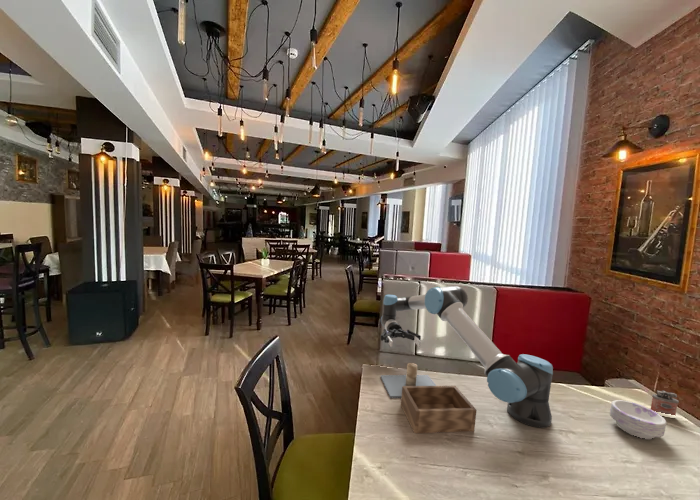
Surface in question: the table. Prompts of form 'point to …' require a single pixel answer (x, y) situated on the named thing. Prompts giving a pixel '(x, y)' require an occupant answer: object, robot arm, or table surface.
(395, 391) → the lid
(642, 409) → the paper bowls
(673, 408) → the lighter
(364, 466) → the table surface
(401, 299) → the robot arm
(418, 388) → the brown wooden open box
